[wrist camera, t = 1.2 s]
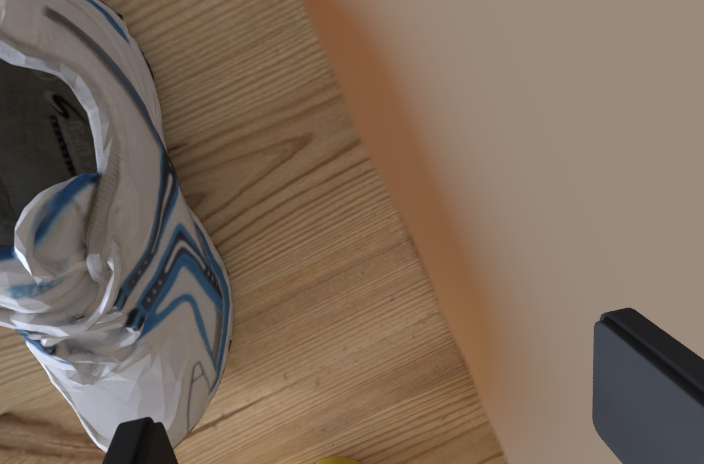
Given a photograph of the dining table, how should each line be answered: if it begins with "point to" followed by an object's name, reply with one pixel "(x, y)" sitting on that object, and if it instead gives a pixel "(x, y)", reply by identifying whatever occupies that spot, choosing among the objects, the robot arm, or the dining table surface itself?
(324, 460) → the lemon
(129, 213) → the athletic shoe
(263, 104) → the dining table surface
